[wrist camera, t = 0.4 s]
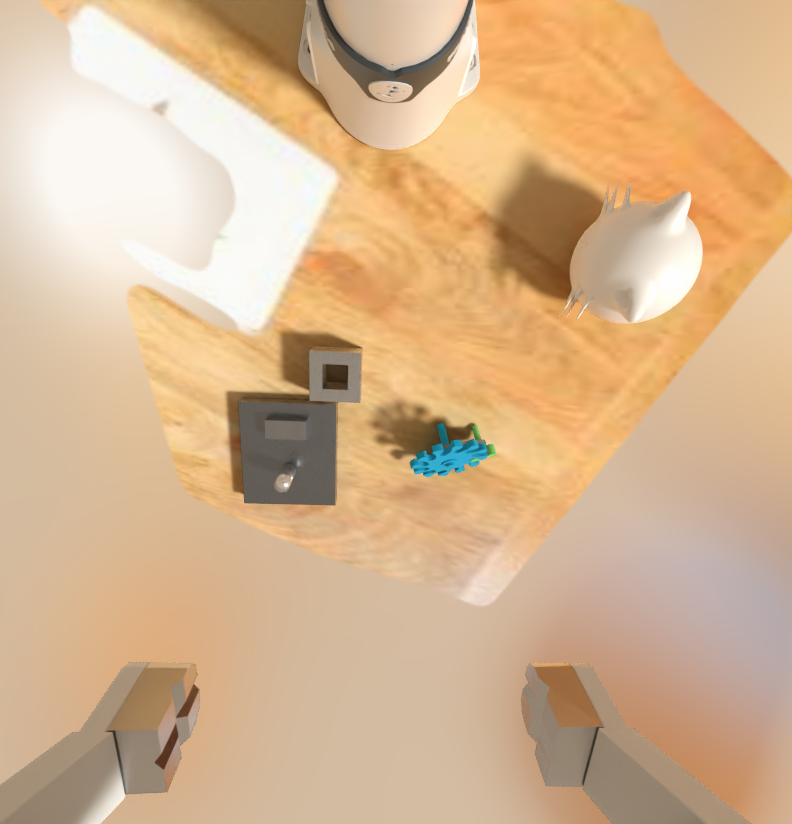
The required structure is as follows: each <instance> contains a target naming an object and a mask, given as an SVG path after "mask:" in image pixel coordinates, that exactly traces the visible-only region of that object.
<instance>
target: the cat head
mask: <svg viewBox="0 0 792 824" xmlns="http://www.w3.org/2000/svg"><path fill="white" fill-rule="evenodd" d="M617 188H618V183H617V186H616V188H615V191H614V193H613V196H612V199H611V201H610V204H609V206H608V208H607V204H608V193H609V183H608V188H607V192H606V196H605V201H604V204H603V207H602V210H601V213H600V215H599V217H598V219H597V220H596V221H595V222H594V223H593V224H592V225H591V226H590V227H589V228H588V229H587V230H586V231H585V232H584V233H583V235H582V236H581V238H580V239H579V241H578V243H577V245H576V247H575V250H574V252H573V255H572V258H571V262H570V281H571V286H572V290H571V293H570V295H569V298H568V300H567V302H566V305H565V307H564V309H563V310H562V312H561V314H562V313H563V311H564V310H565V308H566V307H567V306H568V304H569V302H570V301H571V300H572V298H573V297H574V296H575V298H574V300H573V302H572V305H571V307H570V310H569V312H568V314H567V316H568V315H569V313H570V311H571V309H572V307H573V305H574V304H575V302H576V300H578V301H579V302H580V304H581V305H582V306H583V307H582V309H581V311H580V313H579V314H578V316H577V318H578V317H579V316H580V315H581V313H582V312H583V310H584V309H586V310H587V311H588V312H590V313H591V314H593V315H594V316H596V317H598V318H600V319H603V320H605V321H609V322H614V323H637V322H642V321H646V320H649V319H652V318H654V317H657V316H659V315H661V314H663V313H664V312H666V311H668V310H669V309H671V308H672V307H673V306H675V305H676V304H677V303H678V302H679V301H680V300H681V299H682V298H683V297H684V296H685V295H686V294H687V293H688V291H689V290H690V289H691V287H692V285H693V284H694V282H695V280H696V278H697V276H698V273H699V270H700V267H701V263H702V242H701V238H700V235H699V232H698V230H697V228H696V226H695V225H694V223H693V222H692V221H691V219H690V218H689V217H688V216H687V213H688V210H689V207H690V203H691V194H690V192H688V191H682V192H679V193H677V194H676V195H674V196H672V197H670V198H669V199H667V200H665V201H664V202H662V203H660V202H653V201H642V202H634V203H630V201H629V197H630V182H629V185H628V188H627V191H626V195H625V198H624V202H623V204H622V206H620V207H617V208H615V209H614V202H615V197H616V193H617ZM561 314H560V315H561ZM559 317H560V316H559ZM559 317H558V318H559ZM577 318H576V319H577Z"/></svg>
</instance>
